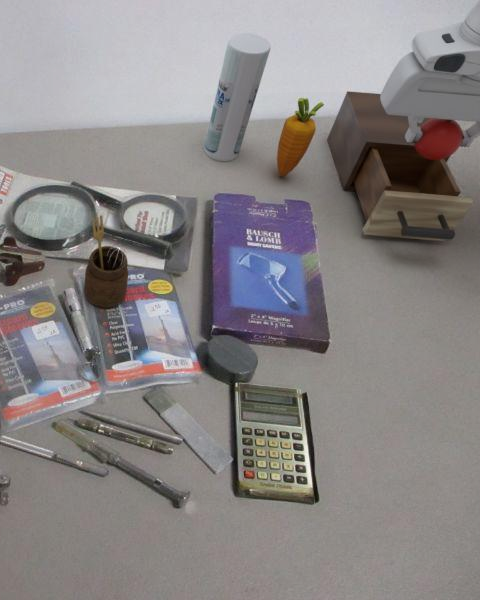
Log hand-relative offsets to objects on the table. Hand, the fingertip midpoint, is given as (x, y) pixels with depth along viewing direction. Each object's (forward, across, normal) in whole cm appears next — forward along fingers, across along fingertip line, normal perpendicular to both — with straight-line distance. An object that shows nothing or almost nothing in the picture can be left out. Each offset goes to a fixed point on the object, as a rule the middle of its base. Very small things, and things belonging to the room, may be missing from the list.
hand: (435, 142), depth 86 cm
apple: (+2, 0, 0) cm, 2 cm away
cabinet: (+14, 0, -13) cm, 19 cm away
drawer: (+13, 0, +2) cm, 13 cm away
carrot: (+14, +17, -8) cm, 24 cm away
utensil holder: (+14, +46, +22) cm, 53 cm away
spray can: (+14, +27, -14) cm, 34 cm away
